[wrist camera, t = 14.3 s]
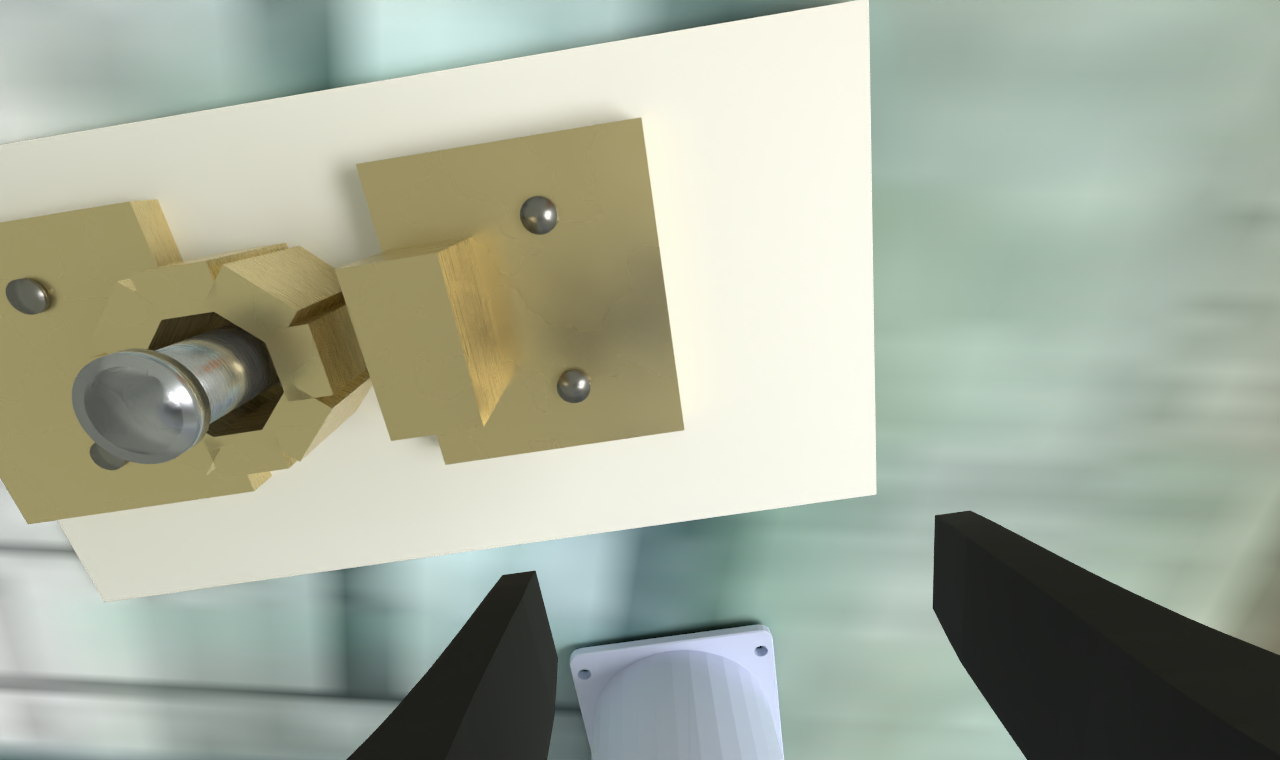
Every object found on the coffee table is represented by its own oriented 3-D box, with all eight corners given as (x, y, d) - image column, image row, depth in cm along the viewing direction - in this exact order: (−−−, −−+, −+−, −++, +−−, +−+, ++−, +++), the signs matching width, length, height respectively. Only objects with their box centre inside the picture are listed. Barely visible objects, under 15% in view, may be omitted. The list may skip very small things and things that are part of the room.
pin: (338, 372, 19) (211, 459, 13) (259, 379, 19) (98, 468, 13) (317, 294, 18) (172, 349, 12) (235, 301, 18) (51, 361, 12)
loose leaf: (681, 417, 19) (694, 478, 16) (454, 450, 20) (412, 518, 16) (640, 120, 16) (644, 107, 12) (371, 164, 16) (295, 164, 13)
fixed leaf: (417, 454, 20) (375, 512, 16) (55, 507, 20) (-56, 574, 17) (328, 171, 17) (254, 173, 13) (-96, 240, 17) (-269, 258, 14)
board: (867, 482, 21) (876, 494, 21) (121, 587, 22) (104, 602, 22) (857, 5, 16) (868, -2, 15) (-111, 168, 17) (-144, 169, 16)
